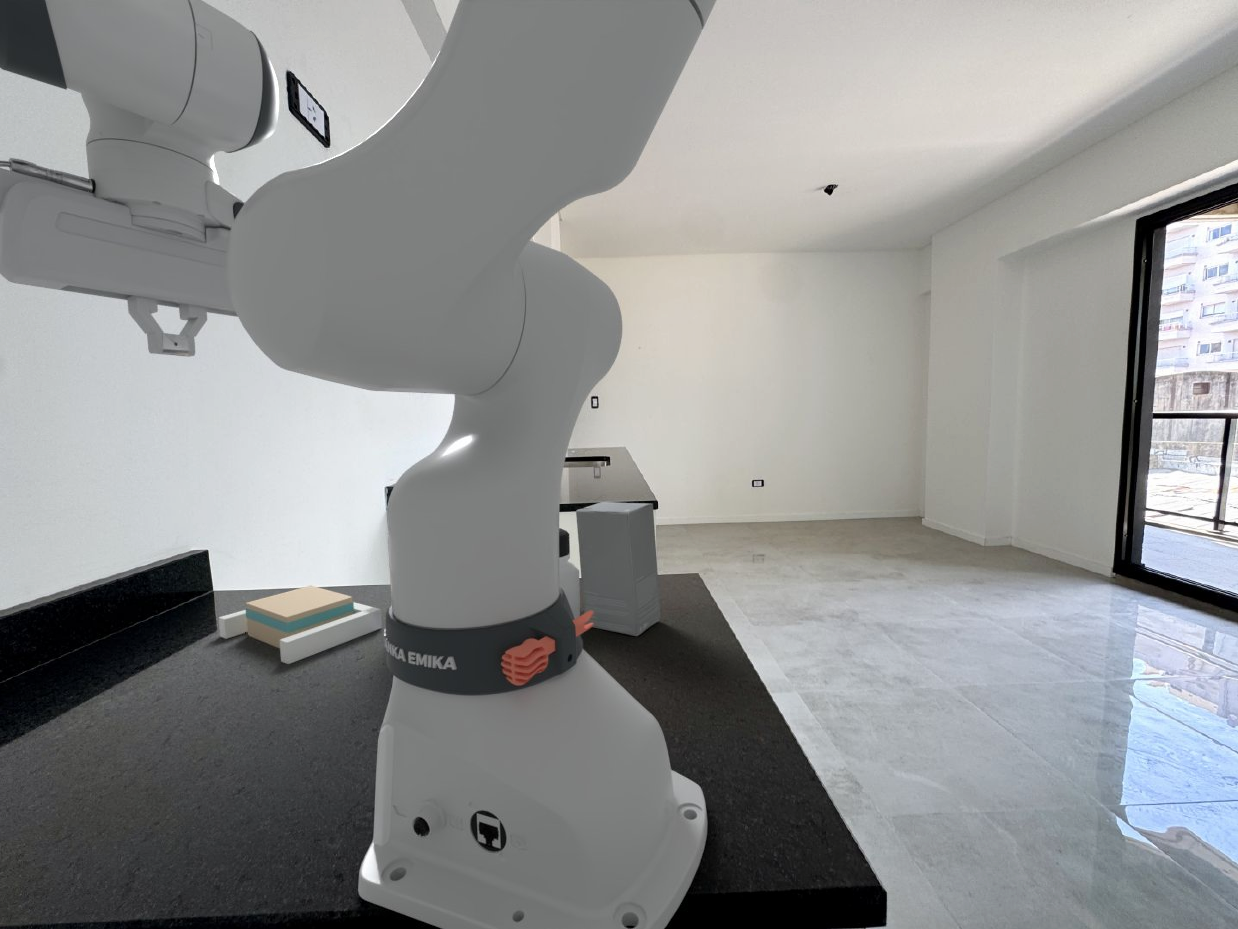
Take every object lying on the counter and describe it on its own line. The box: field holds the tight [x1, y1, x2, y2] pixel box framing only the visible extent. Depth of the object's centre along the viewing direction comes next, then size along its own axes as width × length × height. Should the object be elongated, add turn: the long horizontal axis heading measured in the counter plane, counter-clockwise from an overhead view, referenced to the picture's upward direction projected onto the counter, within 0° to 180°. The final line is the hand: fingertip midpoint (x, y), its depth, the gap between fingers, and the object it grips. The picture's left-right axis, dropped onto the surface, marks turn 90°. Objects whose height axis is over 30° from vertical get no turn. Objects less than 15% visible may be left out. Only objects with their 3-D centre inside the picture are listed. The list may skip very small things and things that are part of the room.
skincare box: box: [575, 501, 661, 637], centre depth 66 cm, size 8×7×16 cm
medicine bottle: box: [559, 527, 581, 619], centre depth 69 cm, size 7×7×12 cm
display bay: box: [218, 601, 382, 665], centre depth 66 cm, size 16×12×2 cm
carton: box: [244, 585, 355, 649], centre depth 66 cm, size 10×8×4 cm
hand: (172, 354), depth 47 cm, fingers closed
